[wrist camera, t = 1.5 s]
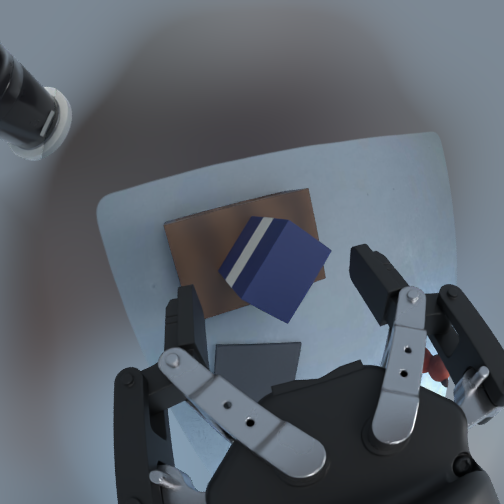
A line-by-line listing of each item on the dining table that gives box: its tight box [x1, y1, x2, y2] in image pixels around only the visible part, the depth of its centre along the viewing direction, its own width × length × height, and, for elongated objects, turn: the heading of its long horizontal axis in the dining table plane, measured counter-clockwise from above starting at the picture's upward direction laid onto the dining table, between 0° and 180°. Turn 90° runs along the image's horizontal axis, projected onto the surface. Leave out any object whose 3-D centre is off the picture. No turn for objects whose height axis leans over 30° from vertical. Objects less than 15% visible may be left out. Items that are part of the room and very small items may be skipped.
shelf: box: [164, 188, 326, 319], centre depth 38 cm, size 18×12×7 cm, turn 104°
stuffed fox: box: [422, 347, 449, 387], centre depth 50 cm, size 8×11×12 cm
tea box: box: [218, 216, 331, 324], centre depth 30 cm, size 5×8×11 cm, turn 147°
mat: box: [214, 342, 302, 403], centre depth 45 cm, size 14×14×1 cm
